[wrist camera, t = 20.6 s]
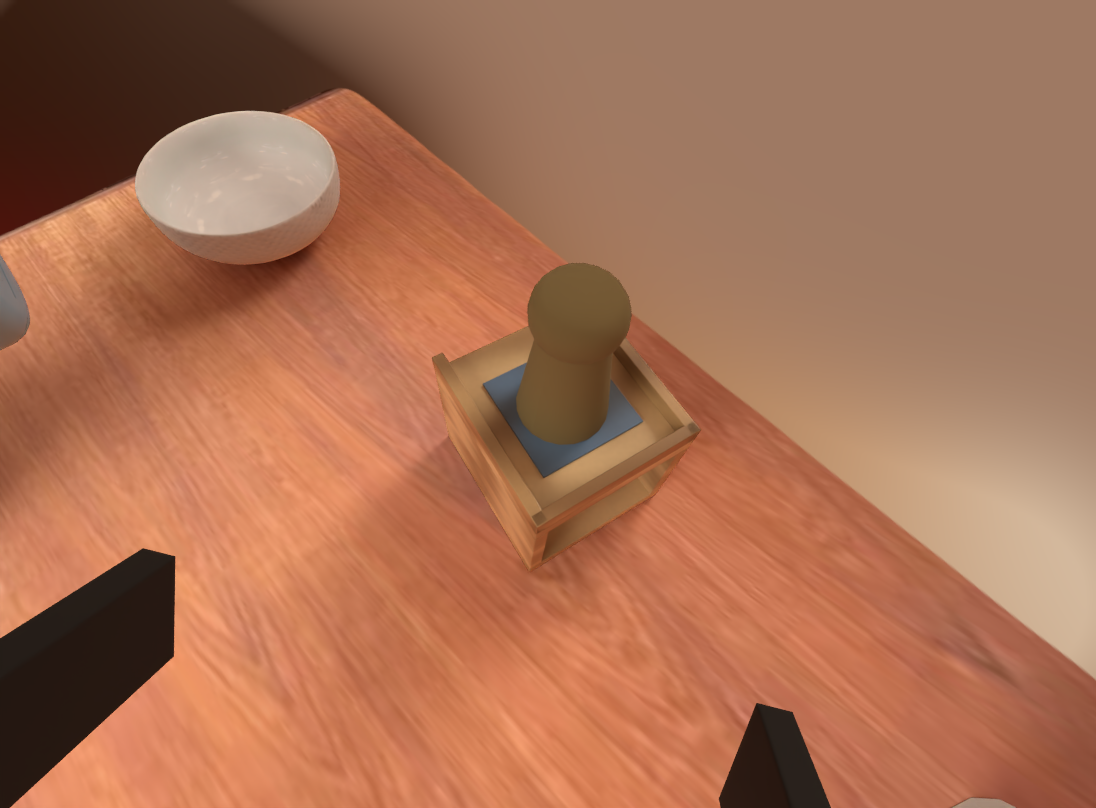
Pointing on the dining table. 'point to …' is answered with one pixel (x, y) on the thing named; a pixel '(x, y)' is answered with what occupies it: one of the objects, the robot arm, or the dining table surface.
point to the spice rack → (559, 446)
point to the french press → (983, 803)
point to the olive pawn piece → (572, 352)
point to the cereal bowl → (240, 186)
